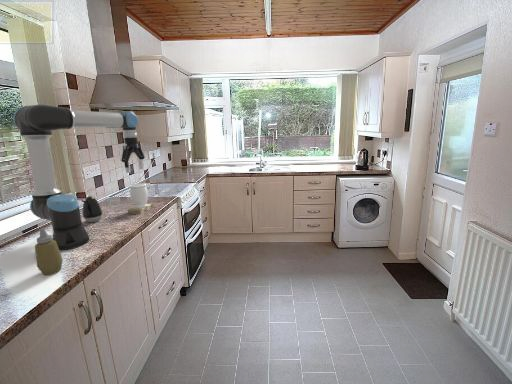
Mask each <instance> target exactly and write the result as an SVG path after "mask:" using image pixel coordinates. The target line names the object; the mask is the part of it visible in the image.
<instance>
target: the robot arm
mask: <svg viewBox="0 0 512 384" xmlns="http://www.w3.org/2000/svg"><path fill="white" fill-rule="evenodd" d="M12 117H13V119H12V120H13V122H14V125H15V127H16V128H18V130H19V134H20V137H22V138H23V139H25V141H26V148H27V153H28V158H29V163H30V169H31V175H32V180H33V186H34V191H33V192H32V194H31V198H32V200H31V202H30V203H29V208H30V211H31V213H32V214H33V215H34V216H36V217H37V218H39V219H42V220H48V221H50V222H51V226H52V230H53V231H52V240H55V241H56V243H57V245H58V248H59V251H64V250H69V249H70V250H71V249H75V248H78V247H80V246H84V245H85V244H87V243H88V242H89V241H90V235H89V233H87V231H86V229H85V227H84V226H83V222H82V216H81V210H80V206H79V205H80V203H79V201H78V198H77V197H76V196H75V195H73V194H65V193H64V194H63V193H62V190H60V188H58V184H57V180H56V174H55V173H56V172H55V167H54V162H53V156H52V149H51V144H50V138H52V136H53V132H52V131H57V130H70V129H72V128H106V129H115V128H118V129H120V128H122V132H123V138H124V139H123V140H124V144H125V145H122V154H121V160H120V161H121V162H122V163H124V168H125V174H126V173H127V174H130V173H131V172H132V171H131V165H130V162H129V161H130V158H131V155H132V153H134V154H135V155H136V156H137V158H138V159H137V160H138V161H137V162H138V168H139V170H144V169H145V168H144V160H145V154H144V152H143V149H142V147H141V144H139V140H138V134H137V126H138V125H139V122H140V121H139V117H138V116H137V115H136V114H135V113H134V112H133V111H131V110H130V111H127V110H125V111H122V110H121V111H120V112H109V111H108V112H107V111H106V112H105V111H92V110H91V111H88V110H73V109H70V108H68V107H64V106H63V107H62V106H55V105H47V104H33V105H31V104H30V105H25V106H21V107H20V108H17V109H16V111H15V112H14V114H13V116H12Z"/></svg>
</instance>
